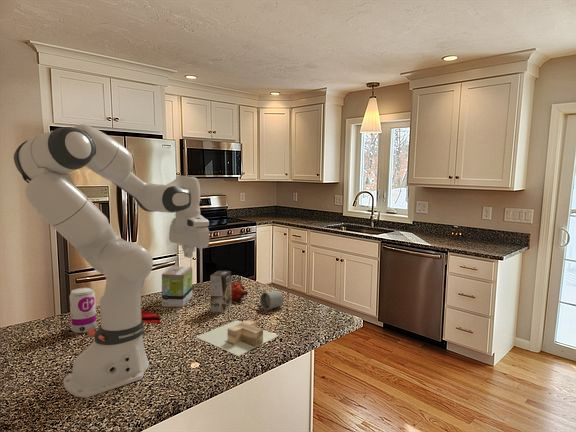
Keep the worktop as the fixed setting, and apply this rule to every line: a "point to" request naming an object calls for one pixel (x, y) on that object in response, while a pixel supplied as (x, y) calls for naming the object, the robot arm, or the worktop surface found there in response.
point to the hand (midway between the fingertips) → (188, 257)
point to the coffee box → (220, 291)
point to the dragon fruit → (237, 291)
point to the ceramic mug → (271, 300)
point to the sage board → (221, 340)
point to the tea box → (176, 286)
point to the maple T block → (246, 333)
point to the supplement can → (82, 310)
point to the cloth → (149, 317)
